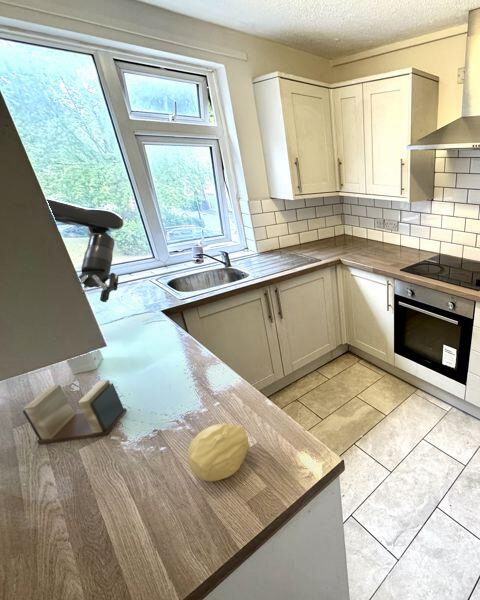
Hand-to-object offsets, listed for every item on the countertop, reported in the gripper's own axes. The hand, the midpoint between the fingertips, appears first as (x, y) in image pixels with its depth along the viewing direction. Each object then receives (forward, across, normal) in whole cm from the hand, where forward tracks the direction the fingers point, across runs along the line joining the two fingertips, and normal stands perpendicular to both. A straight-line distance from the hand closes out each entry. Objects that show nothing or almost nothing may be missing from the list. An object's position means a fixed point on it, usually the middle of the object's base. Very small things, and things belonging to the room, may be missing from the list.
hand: (89, 302), depth 113 cm
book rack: (+43, +17, -16) cm, 49 cm away
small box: (+21, 0, +6) cm, 22 cm away
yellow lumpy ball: (+57, +56, -31) cm, 86 cm away
